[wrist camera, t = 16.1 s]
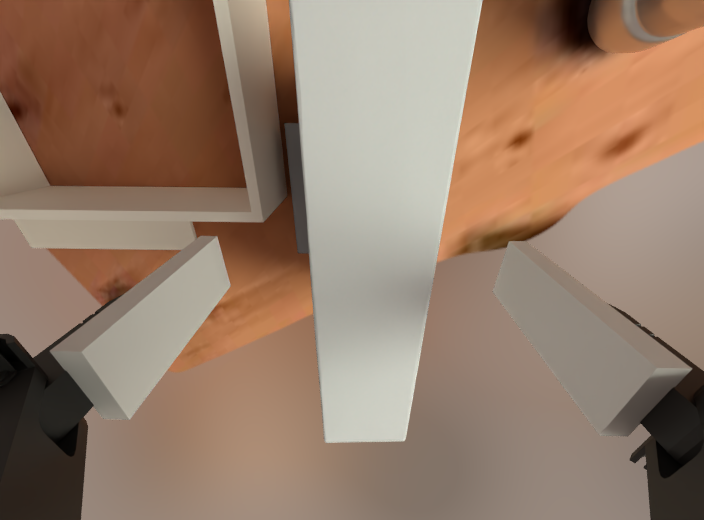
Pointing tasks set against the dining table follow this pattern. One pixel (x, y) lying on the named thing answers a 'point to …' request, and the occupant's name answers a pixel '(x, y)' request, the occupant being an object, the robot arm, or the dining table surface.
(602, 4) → the plastic bottle
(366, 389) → the skincare box
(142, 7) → the dining table surface
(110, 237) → the tray
